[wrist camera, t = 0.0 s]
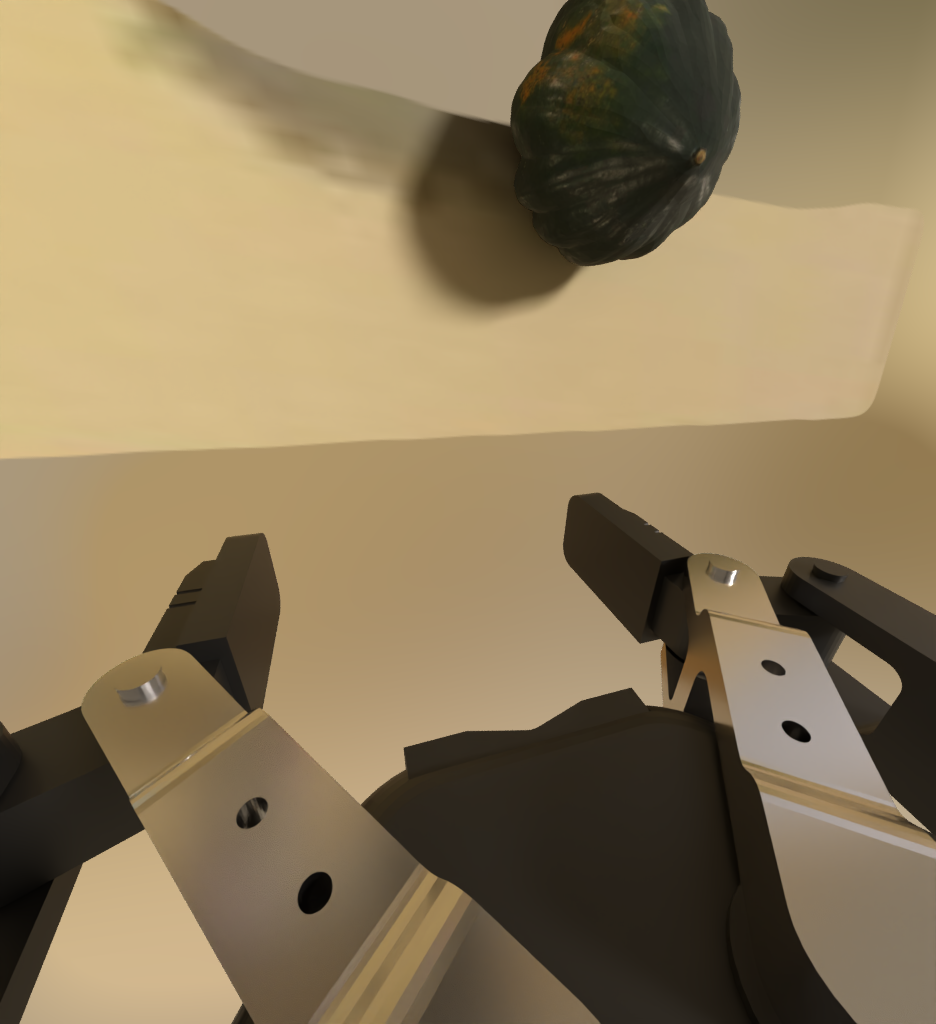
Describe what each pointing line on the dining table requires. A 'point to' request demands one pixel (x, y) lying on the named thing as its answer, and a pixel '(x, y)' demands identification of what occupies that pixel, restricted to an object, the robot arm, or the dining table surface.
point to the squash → (624, 125)
